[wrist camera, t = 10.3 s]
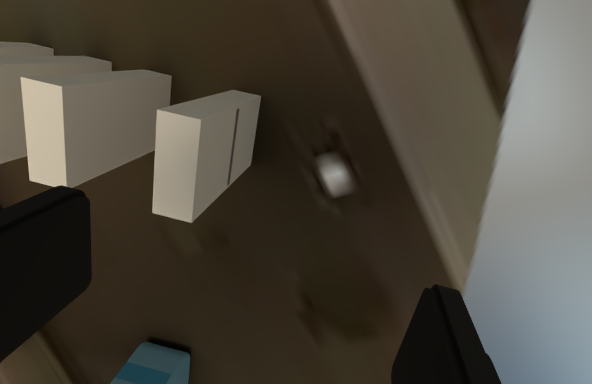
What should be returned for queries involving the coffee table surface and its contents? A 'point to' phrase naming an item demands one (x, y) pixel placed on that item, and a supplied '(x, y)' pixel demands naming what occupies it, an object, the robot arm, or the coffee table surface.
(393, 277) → the coffee table surface
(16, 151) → the domino
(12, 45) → the domino
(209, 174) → the domino
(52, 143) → the domino
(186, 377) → the data package
